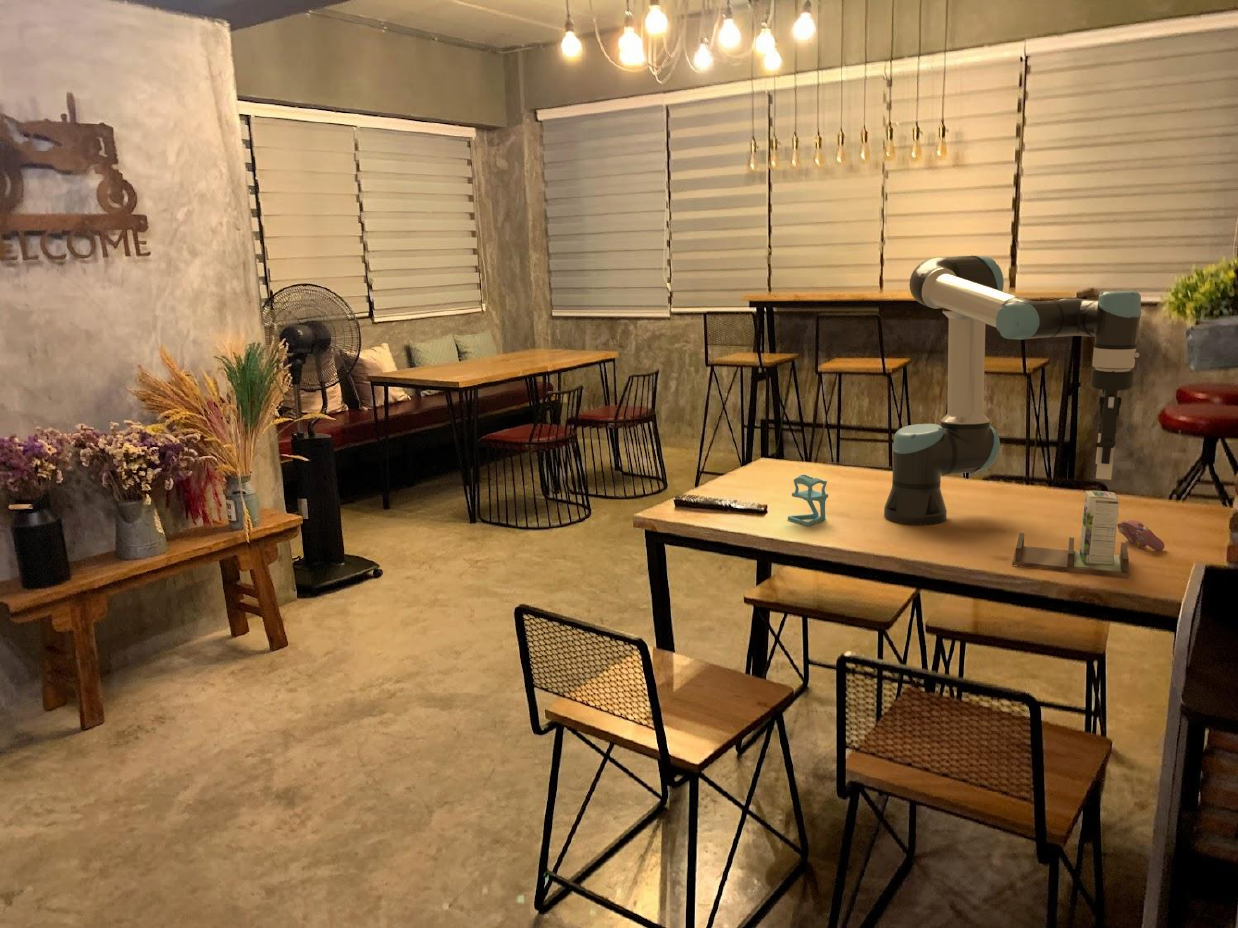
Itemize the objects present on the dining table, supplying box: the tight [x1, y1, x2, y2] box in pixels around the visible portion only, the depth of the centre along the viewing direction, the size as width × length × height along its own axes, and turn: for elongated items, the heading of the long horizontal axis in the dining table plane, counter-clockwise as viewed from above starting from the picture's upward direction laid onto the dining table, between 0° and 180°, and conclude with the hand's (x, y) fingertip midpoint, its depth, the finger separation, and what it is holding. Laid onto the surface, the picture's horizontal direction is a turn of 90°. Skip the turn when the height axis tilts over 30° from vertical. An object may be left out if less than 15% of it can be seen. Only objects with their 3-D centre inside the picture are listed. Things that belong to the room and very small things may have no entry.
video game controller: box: [1117, 518, 1165, 552], centre depth 205 cm, size 10×5×7 cm, turn 6°
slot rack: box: [1011, 532, 1131, 579], centre depth 195 cm, size 22×12×4 cm, turn 63°
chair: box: [787, 474, 829, 527], centre depth 232 cm, size 8×8×12 cm
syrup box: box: [1079, 490, 1121, 565], centre depth 191 cm, size 6×6×14 cm
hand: (1103, 471), depth 189 cm, fingers open, 13 cm apart
